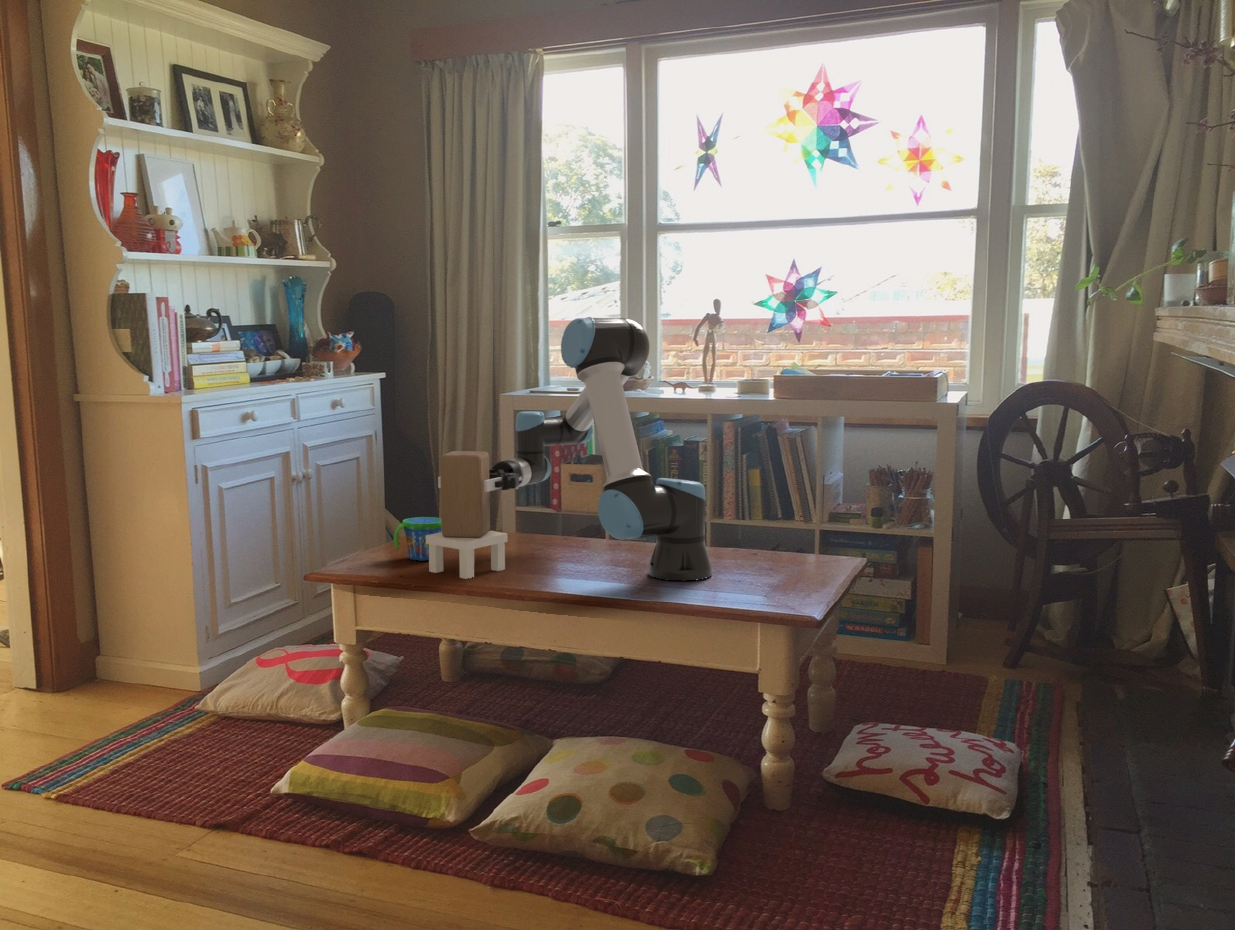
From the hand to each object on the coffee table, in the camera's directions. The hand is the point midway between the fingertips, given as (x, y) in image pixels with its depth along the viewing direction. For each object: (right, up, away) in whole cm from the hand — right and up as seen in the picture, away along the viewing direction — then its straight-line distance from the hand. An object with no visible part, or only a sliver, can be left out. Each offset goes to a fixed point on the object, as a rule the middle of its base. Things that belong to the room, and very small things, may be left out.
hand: (462, 484), depth 247 cm
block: (+1, -12, +3) cm, 13 cm away
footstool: (+1, -21, +4) cm, 22 cm away
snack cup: (-12, -20, +18) cm, 29 cm away
